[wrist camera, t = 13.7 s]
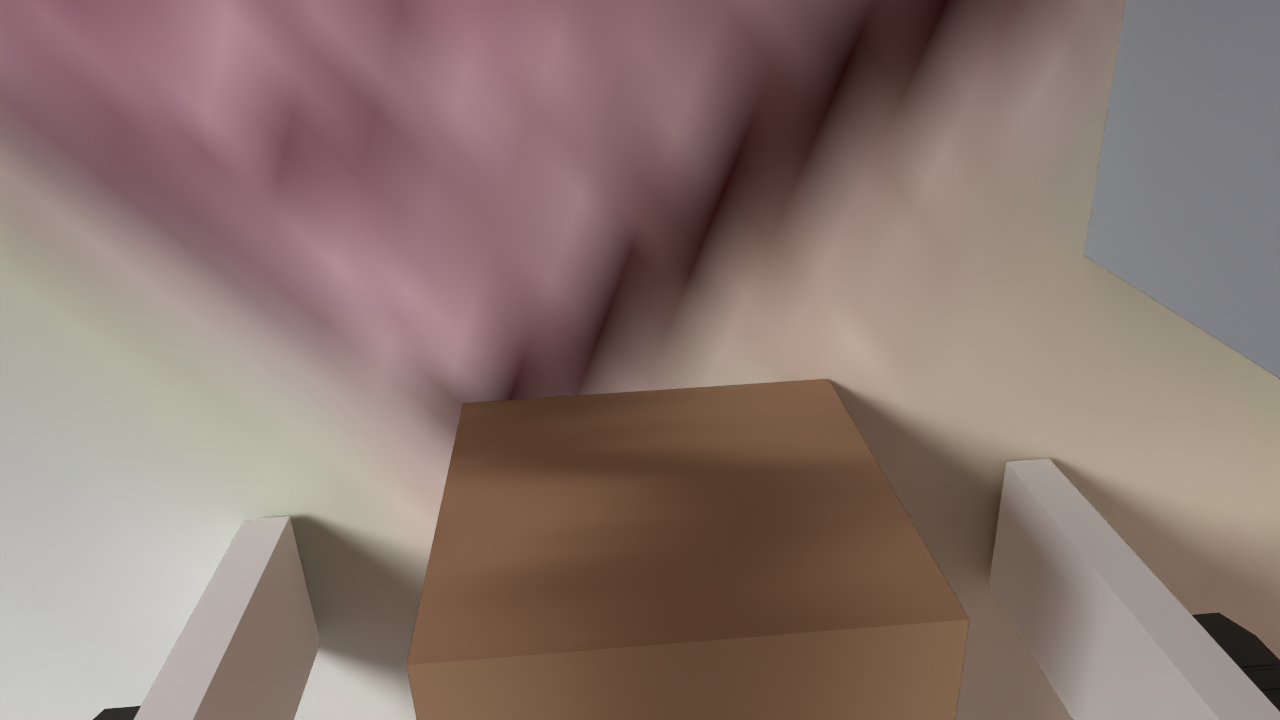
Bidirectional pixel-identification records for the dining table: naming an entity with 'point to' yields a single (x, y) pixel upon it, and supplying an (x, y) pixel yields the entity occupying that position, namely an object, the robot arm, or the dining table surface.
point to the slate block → (1196, 167)
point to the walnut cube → (679, 566)
